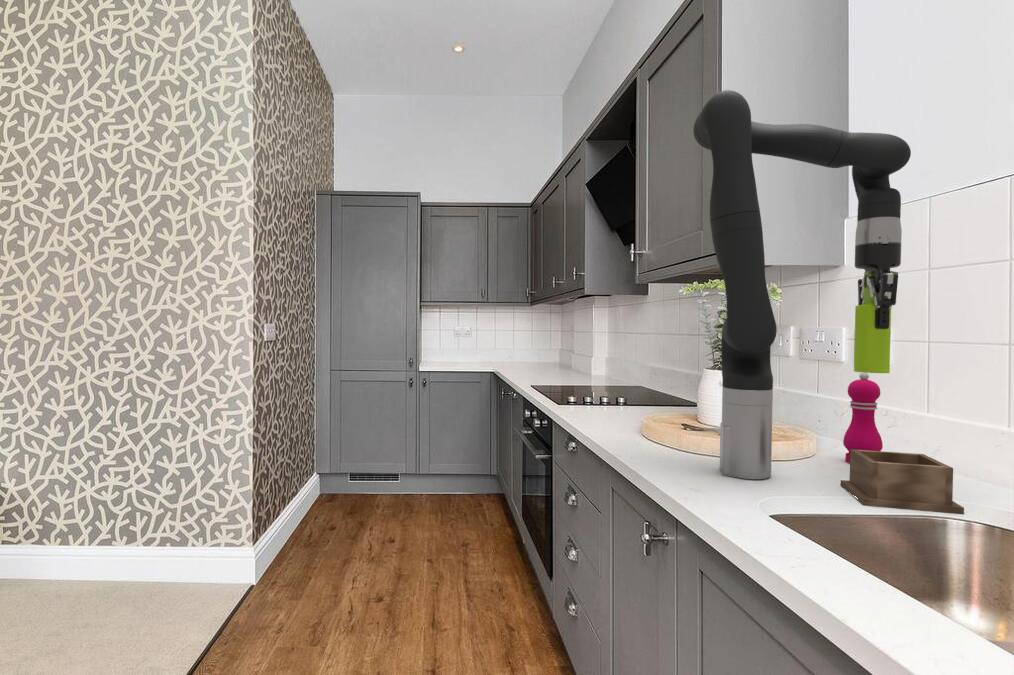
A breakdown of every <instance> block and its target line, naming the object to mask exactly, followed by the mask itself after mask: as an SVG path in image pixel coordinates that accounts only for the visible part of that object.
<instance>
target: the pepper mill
mask: <svg viewBox="0 0 1014 675" xmlns="http://www.w3.org/2000/svg"><path fill="white" fill-rule="evenodd" d="M859 373H860V374H859V376H858V377H859V379H855V380H853V381H851V382H850V383H849V385H848V386H847V394H848V395H847V396H848V397H849V398H850V399H851V401H849V403H850V405H849V407H850V408H851V409H852V410H851V412H852V415H851V421H850V424H849V426H848V428H847V430H846V431H845V434H844V436H843V441H842V442H843V446H844V448H845V449H846V450H847V452H846V453H845V459H844V460H845V462H846V463H847V464H849V465H850V449H853V450H868V451H883V447H884V446H883V440H882V437H881V434H880V432H879V431H878V427H877V426H876V420H875V415H876V414H875V412H876V410H877V409H878V402H877V400H878V399H879V398H880V397H881V388H880V386H879V385H878V384H877V383H876V382H875V381H873V380H871V379H869V378H870V374H869V373H864V372H859Z"/></svg>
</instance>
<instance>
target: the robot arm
mask: <svg viewBox="0 0 1014 675" xmlns="http://www.w3.org/2000/svg"><path fill="white" fill-rule="evenodd" d="M692 132H693V136H694V140H695V141H696V142H697V144H698V145H700V146H701V147H702V148H704V149H706V150H708V151H710V152H711V153H710V154H711V158H712V167H713V168H712V181H711V190H710V199H709V224H710V232H711V238H712V239H711V240H712V243H713V244H712V245H713V249H714V253H715V256H716V260H717V263H718V267H719V269H720V271H721V275H722V278H723V281H724V286H725V298H726V299H725V301H726V302H725V303H726V318H725V319H724V322H723V325H722V329H721V377H722V384H721V385H722V387H721V388H722V390H721V391H722V392H721V393H722V396H721V397H722V398H721V422H720V424H719V426H720V427H719V435H720V436H719V470H720V472H721V475H722V476H729V477H734V478H739V479H744V480H745V479H747V480H766V479H770V478H771V477H772V450H773V449H772V445H773V443H772V442H773V398H774V375H773V372H772V367H771V366H772V364H771V347H772V345H773V344H774V343H775V340H776V336H777V332H778V331H777V323H776V319H775V315H774V311H773V307H772V303H771V300H770V295H769V292H768V287H767V286H768V285H767V281H766V265H765V263H766V262H765V261H766V260H765V246H764V235H763V234H764V232H763V222H762V217H761V210H760V204H759V197H758V190H757V184H756V176H755V171H754V170H755V169H754V164H753V163H754V162H753V154H754V155H764V156H771V157H778V158H783V159H788V160H793V161H799V162H802V163H803V162H804V163H807V164H812V165H816V166H820V167H824V168H831V169H839V168H843V167H851V176H852V183H853V186H854V192H855V195H856V198H857V201H858V202H857V219H856V220H857V222H856V228H855V238H854V239H855V240H854V243H855V245H854V268H856V269H858V270H864V272H868V271H872V274H871V277H869V275H864V274H863V275H864V276H863V278H859V279H858V280H857V291H858V292H857V298H858V300H857V301H858V304H857V306H858V305H862V304H863V289H864V288H866V287H867V286H869V290H870V297H871V298H872V299H874V304H875V308H876V309H878V310H875V328H876V329H888V328H889V313H890V310H889V309H891V310H892V307H893V306H895V305H896V304H897V292H898V282H899V272H898V273H891V272H890V271H891V269H894V268H898V267H900V266H901V264H902V235H903V234H902V232H903V230H902V221H901V212H902V211H901V210H902V208H901V207H902V206H901V205H902V199H901V198H902V196H901V193H900V190H898V189H896V188H894V187H891V182H890V175H892V174H895V173H896V172H898V171H900V170H901V169H903V168H904V167H905V166H906V165H907V163H909V161H910V158H911V153H912V152H911V147H910V145H909V144H908V142H907V141H906V140H904V139H903V138H901V137H899V136H897V135H893V134H889V133H879V132H851V131H845V130H841V129H836V128H832V127H827V126H823V125H819V124H808V123H805V124H804V123H798V124H797V123H795V124H794V123H793V124H773V123H772V124H771V123H770V124H769V123H760V122H756V121H752V114H751V108H750V105H749V102H748V101H747V99H746V98H745V96H743V95H742V94H741V93H740V92H738V91H735V90H730V89H726V90H725V89H724V90H722V91H719V92H717V93H716V94H714V95H713V96H712V97H711V98H710V99H709V100H708V101H706V103H705V104H704V106H703V108H701V111H700V113H699V114H698V116H697V118H696V119H695V121H694V124H693V131H692Z"/></svg>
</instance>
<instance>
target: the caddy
mask: <svg viewBox="0 0 1014 675" xmlns="http://www.w3.org/2000/svg"><path fill="white" fill-rule="evenodd" d="M953 486H954V467H952V466H950V465H947V464H945V463H943V462H941V461H938V460H937V459H934V458H932V457H931V456H929V455H926V454H925V453H915V452H914V453H913V452H911V453H910V452H899V451H898V452H897V451H883V450H881V451H868V450H853V449H850V464H849V480H846V479H845V480H843V479H841V480H840V487H842V488H843V489H844V488H845V489H846V490H847V491H846V490H845V489H844V490H845V491H846V492H848V493H849V492H850V493H851V494H852V495H854V496H856V497H857V498H858V500H857V502H859V503H860V504H861V505H862V506H870V507H872V506H873V507H880V508H881V507H882V508H892V509H902V510H903V509H904V510H915V511H926V512H938V513H949V514H960V515H964V514H965V507H964V506H962V505H960V504H958V503H957V502H955V501H953V494H954V493H953V491H954V489H953V488H954V487H953ZM850 493H849V494H850ZM851 494H850V495H851ZM852 495H851V496H852Z"/></svg>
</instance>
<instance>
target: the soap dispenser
mask: <svg viewBox="0 0 1014 675" xmlns="http://www.w3.org/2000/svg"><path fill="white" fill-rule="evenodd" d="M890 272H891V273H898V274H899V272H898V271H893V270H890ZM871 274H872V271H868V272H865V271H864V274H863V275H869V277H871ZM854 307H855V309H854V312H855V313H854V314H855V315H854V343H853V345H854V347H853V348H854V349H853V350H854V352H853V355H854V356H853V372H856V373H862V372H864V373H868V374H890V371H891V370H890V367H891V366H890V365H891V364H890V362H891V333H892V332H891V328H892V308H891V309H889V310H890V313H889V328H888V329H876V328H875V310H878V309H876V308H875V304H874V299H872V298H871V297H870V290H869V286H867V287H866V288H864V289H863V304H862V305H858V304H857V305H855V306H854Z"/></svg>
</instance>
